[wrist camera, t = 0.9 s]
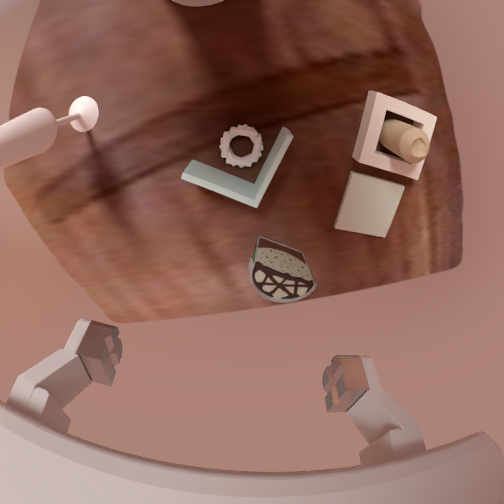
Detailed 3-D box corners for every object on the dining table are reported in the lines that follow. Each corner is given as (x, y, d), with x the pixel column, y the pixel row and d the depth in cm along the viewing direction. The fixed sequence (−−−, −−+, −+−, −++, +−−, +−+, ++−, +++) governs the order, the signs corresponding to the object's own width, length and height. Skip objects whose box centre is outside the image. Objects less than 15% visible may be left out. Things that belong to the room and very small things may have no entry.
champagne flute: (96, 133, 42) (4, 185, 22) (67, 130, 41) (-27, 180, 21) (101, 96, 38) (1, 127, 18) (70, 95, 37) (-30, 127, 17)
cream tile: (350, 170, 46) (352, 172, 45) (402, 184, 47) (404, 186, 46) (333, 225, 52) (334, 228, 51) (383, 235, 53) (385, 237, 52)
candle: (410, 134, 42) (440, 150, 33) (390, 154, 44) (417, 173, 36) (391, 111, 40) (421, 122, 31) (371, 132, 42) (397, 147, 34)
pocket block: (368, 90, 38) (377, 91, 35) (426, 113, 39) (437, 117, 36) (351, 156, 45) (358, 162, 42) (408, 173, 46) (417, 180, 43)
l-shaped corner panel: (287, 128, 43) (293, 136, 37) (256, 189, 49) (256, 208, 43) (217, 98, 40) (211, 101, 34) (190, 164, 46) (180, 178, 40)
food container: (238, 258, 56) (236, 292, 48) (251, 232, 53) (250, 265, 45) (294, 277, 59) (301, 312, 50) (309, 254, 56) (318, 288, 47)
